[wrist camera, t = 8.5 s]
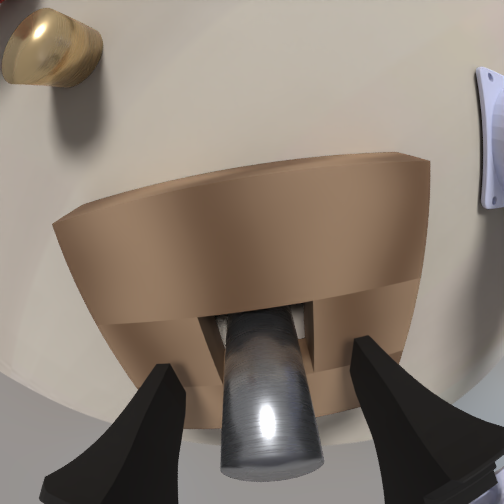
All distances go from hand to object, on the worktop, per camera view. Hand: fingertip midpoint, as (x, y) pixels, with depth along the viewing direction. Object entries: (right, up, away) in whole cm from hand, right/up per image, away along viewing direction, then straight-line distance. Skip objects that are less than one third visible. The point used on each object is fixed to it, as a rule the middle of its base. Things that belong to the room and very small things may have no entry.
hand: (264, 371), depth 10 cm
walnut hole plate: (0, +2, +3) cm, 4 cm away
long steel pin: (0, +2, +3) cm, 4 cm away
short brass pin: (-8, +13, -2) cm, 16 cm away
